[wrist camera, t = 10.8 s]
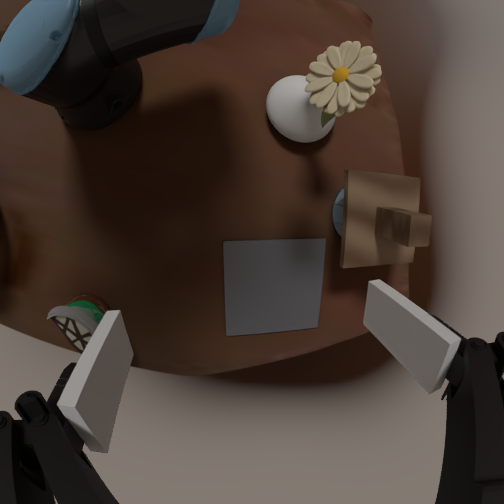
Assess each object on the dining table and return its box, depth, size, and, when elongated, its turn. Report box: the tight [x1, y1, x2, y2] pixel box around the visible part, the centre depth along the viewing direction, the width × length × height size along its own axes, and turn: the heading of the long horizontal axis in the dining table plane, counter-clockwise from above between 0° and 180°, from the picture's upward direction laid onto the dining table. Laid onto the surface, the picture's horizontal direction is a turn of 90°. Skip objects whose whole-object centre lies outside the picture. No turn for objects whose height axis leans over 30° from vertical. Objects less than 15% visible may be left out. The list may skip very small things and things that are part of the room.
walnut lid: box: [339, 170, 432, 268], centre depth 34 cm, size 14×14×9 cm
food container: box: [47, 294, 111, 354], centre depth 38 cm, size 12×6×10 cm, turn 32°
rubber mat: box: [223, 238, 326, 336], centre depth 46 cm, size 17×17×1 cm
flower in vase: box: [266, 41, 382, 143], centre depth 27 cm, size 13×11×25 cm
